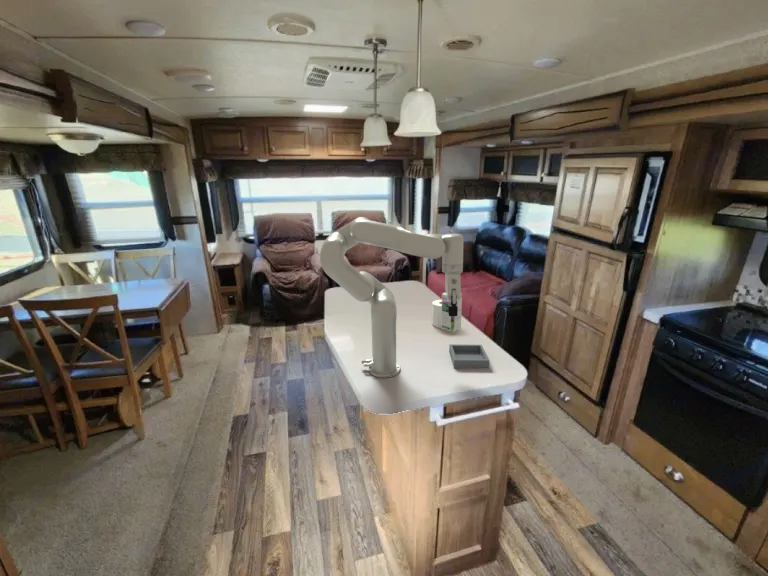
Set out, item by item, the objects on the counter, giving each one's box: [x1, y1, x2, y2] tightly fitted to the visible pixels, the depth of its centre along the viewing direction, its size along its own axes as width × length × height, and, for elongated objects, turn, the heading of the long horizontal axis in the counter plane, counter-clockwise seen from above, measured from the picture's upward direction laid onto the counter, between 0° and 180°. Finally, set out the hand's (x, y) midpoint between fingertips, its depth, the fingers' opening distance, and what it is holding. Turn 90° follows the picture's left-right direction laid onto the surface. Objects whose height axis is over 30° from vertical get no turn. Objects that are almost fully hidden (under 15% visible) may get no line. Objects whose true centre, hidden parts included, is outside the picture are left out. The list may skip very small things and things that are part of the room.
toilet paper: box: [431, 299, 442, 329], centre depth 183 cm, size 10×10×12 cm
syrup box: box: [440, 291, 463, 333], centre depth 134 cm, size 6×6×14 cm
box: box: [448, 344, 490, 369], centre depth 147 cm, size 14×14×4 cm
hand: (451, 311), depth 135 cm, fingers closed on syrup box, 8 cm apart
